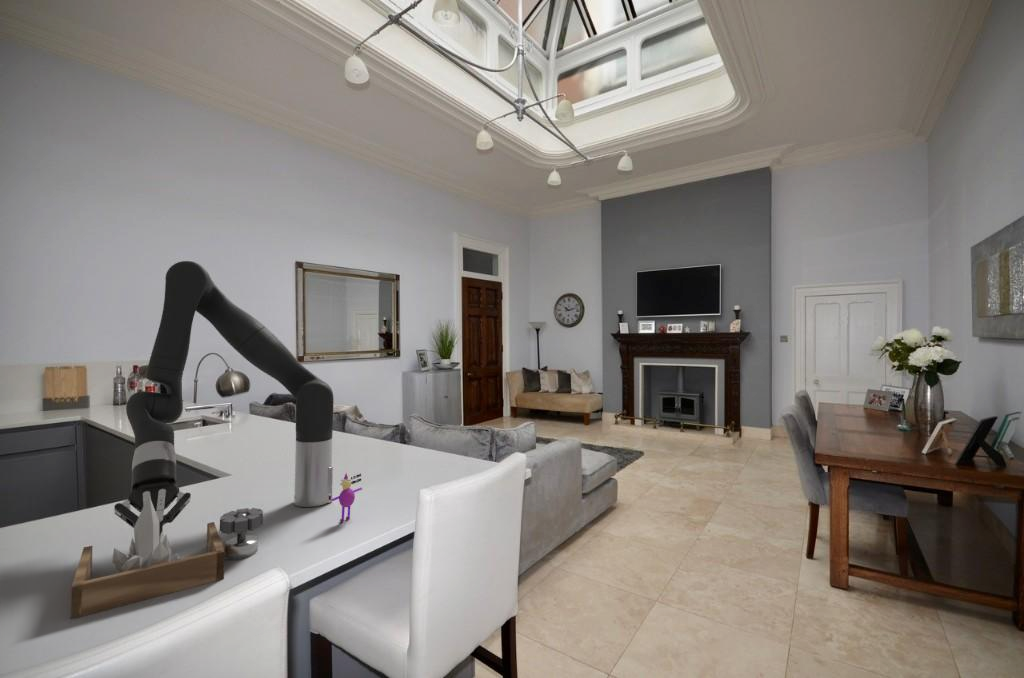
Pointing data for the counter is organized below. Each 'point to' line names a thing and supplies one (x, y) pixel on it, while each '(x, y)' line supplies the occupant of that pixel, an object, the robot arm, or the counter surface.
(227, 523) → the wheel
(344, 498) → the wizard figurine
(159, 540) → the crystal
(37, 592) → the counter surface
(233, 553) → the axle mount
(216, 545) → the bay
